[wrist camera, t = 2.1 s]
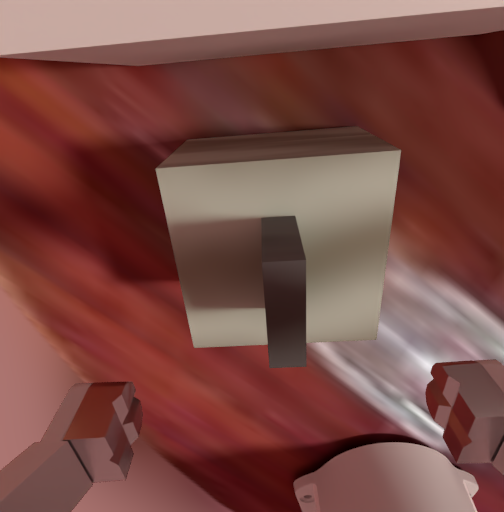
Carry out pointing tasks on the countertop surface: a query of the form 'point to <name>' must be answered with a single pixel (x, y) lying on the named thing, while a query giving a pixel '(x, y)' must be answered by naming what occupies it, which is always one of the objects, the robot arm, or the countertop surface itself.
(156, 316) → the countertop surface
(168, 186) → the cabinet block
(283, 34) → the board
